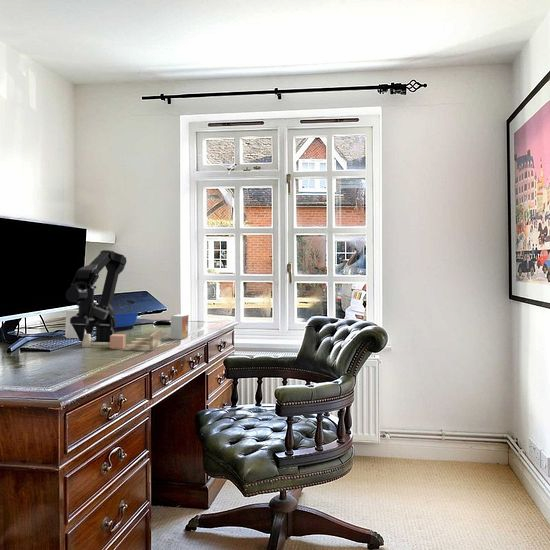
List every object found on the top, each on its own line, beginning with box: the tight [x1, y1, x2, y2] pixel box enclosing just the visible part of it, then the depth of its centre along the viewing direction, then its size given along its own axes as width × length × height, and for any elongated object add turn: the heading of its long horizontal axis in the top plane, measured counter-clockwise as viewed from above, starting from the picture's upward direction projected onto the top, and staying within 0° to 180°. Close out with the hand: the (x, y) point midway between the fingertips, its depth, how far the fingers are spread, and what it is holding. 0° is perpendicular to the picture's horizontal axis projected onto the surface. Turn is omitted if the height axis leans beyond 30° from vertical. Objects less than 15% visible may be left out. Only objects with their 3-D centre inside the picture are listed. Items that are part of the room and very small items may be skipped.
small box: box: [170, 313, 190, 340], centre depth 233 cm, size 8×6×10 cm
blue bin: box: [113, 311, 139, 332], centre depth 253 cm, size 16×13×9 cm
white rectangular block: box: [64, 309, 86, 339], centre depth 226 cm, size 9×9×12 cm
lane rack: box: [124, 329, 162, 352], centre depth 208 cm, size 11×17×6 cm, turn 2°
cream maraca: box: [81, 333, 127, 350], centre depth 204 cm, size 16×5×5 cm, turn 95°
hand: (85, 339), depth 203 cm, fingers open, 9 cm apart
